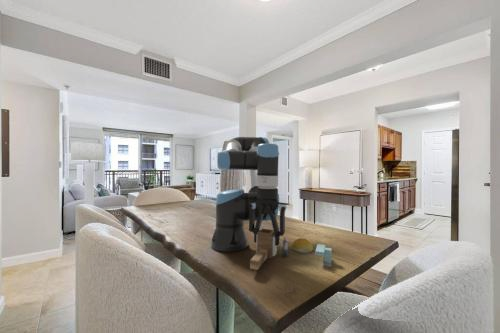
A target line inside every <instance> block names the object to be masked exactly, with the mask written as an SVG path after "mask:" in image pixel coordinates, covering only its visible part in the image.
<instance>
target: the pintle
mask: <svg viewBox="0 0 500 333" xmlns="http://www.w3.org/2000/svg"><path fill="white" fill-rule="evenodd" d="M287 240H288V239H287V238H286V237H283V241H282V246H281V248H282V250H281V256H282V257H283V258H288V254H289V252H288V251H289V250H288V249H289V248H288V247H289V246H288V245H289V242H288V241H287Z"/></svg>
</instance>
